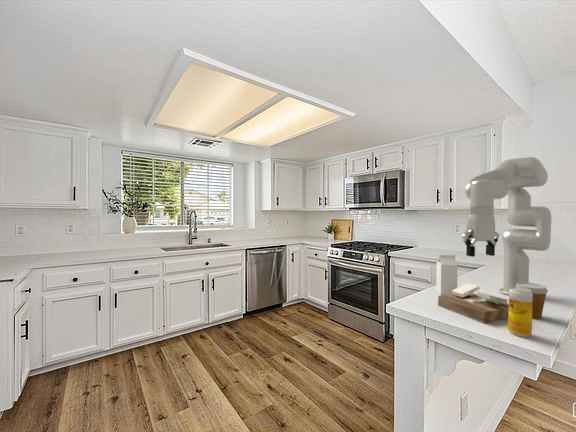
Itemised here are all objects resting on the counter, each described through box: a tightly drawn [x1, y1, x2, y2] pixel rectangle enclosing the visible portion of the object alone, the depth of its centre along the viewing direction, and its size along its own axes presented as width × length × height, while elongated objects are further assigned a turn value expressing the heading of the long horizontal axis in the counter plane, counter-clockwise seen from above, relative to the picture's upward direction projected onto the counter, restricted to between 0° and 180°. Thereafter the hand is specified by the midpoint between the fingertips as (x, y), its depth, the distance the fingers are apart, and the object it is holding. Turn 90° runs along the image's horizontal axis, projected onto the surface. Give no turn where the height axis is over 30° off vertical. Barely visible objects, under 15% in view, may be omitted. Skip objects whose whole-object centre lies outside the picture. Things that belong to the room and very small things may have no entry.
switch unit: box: [437, 292, 509, 324], centre depth 116 cm, size 18×20×5 cm
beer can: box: [507, 287, 533, 338], centre depth 95 cm, size 6×6×15 cm
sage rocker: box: [476, 291, 508, 304], centre depth 112 cm, size 10×5×2 cm, turn 110°
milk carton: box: [435, 254, 459, 296], centre depth 138 cm, size 7×7×19 cm
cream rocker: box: [452, 282, 480, 297], centre depth 122 cm, size 10×5×2 cm, turn 109°
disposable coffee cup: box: [516, 282, 549, 320], centre depth 110 cm, size 10×10×12 cm
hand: (480, 255), depth 111 cm, fingers open, 9 cm apart
